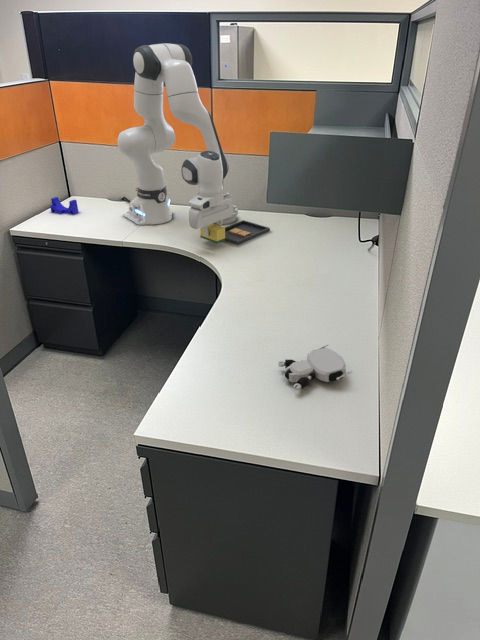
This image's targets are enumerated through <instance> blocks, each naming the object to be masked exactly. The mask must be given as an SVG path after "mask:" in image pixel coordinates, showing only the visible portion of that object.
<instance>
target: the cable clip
mask: <svg viewBox="0 0 480 640" xmlns="http://www.w3.org/2000/svg"><path fill="white" fill-rule="evenodd" d="M50 201H51V205H50V206H49V209H50V212H51V213H52V214H59V215H63V214H67V215H72V216H73V215H77V214H79V206H78V202H77V199H72V200H69V201H68V203H69V204H68V207H67V206H64V205H63V204H62V202H61V201H60V199H59V197H58V196H55V197H52V198H50Z"/></svg>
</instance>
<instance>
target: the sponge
mask: <svg viewBox="0 0 480 640" xmlns="http://www.w3.org/2000/svg"><path fill="white" fill-rule="evenodd" d="M207 230H208V231H210V235H209V236H205V235H204V231H203V229H202V228H200V229H199V232H200V235H199V237H200V238H201V239H204V240H206V241H209V242H212V243H215V244H219V243H223V242H225V227H224V226H218V225H217V224H216V223H213V224H211V225H208V228H207Z"/></svg>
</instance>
